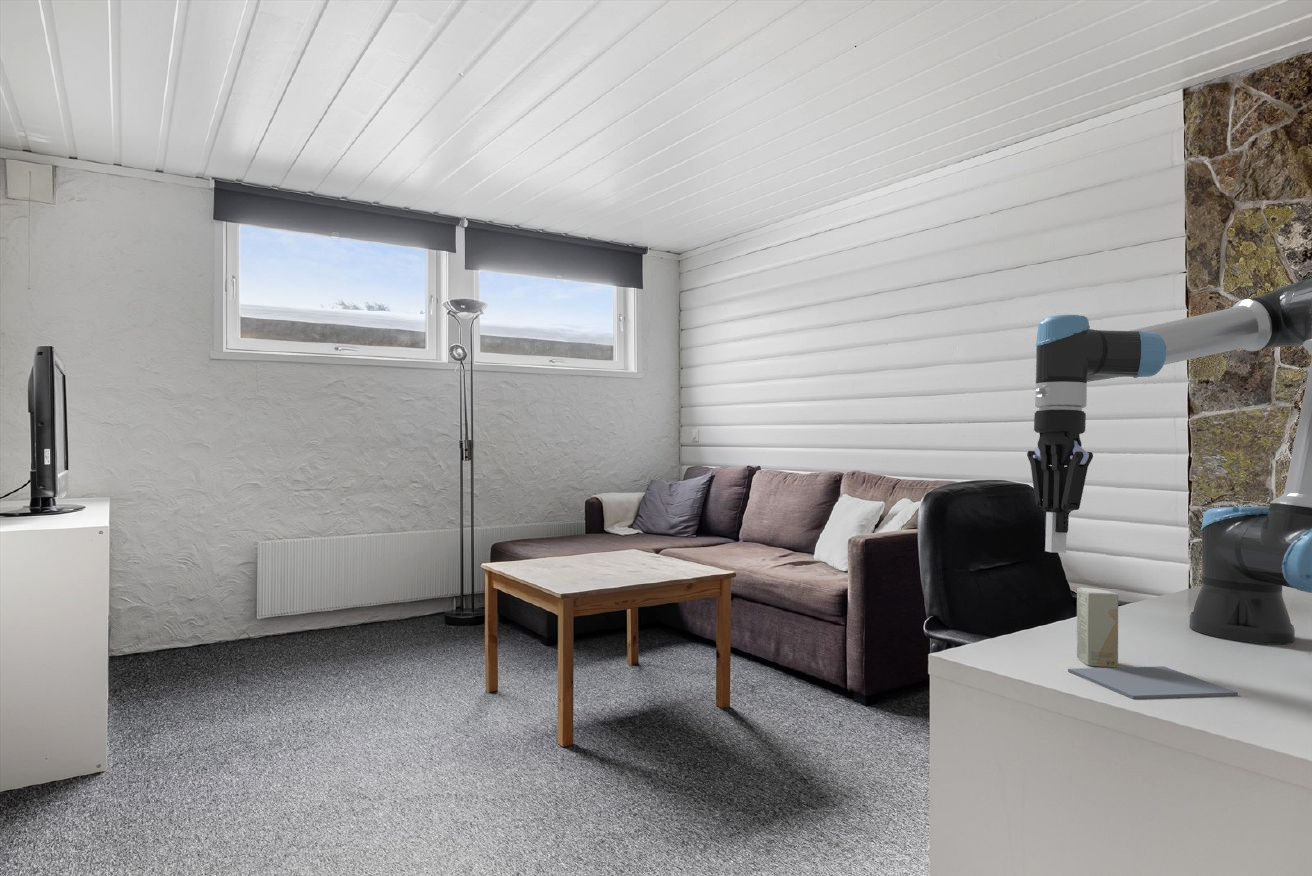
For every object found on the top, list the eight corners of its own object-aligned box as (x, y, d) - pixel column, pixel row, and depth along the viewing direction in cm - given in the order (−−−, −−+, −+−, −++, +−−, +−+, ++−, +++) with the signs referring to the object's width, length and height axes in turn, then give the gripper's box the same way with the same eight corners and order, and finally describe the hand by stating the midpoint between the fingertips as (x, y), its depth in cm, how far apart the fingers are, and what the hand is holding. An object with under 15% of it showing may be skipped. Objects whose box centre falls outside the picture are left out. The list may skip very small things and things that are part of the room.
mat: (1163, 669, 112) (1163, 666, 112) (1238, 695, 101) (1238, 692, 101) (1068, 671, 110) (1068, 668, 110) (1132, 698, 98) (1132, 695, 98)
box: (1118, 668, 112) (1120, 594, 112) (1087, 666, 113) (1088, 592, 113) (1105, 659, 117) (1106, 588, 117) (1075, 657, 118) (1076, 586, 118)
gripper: (1014, 410, 130) (1010, 546, 130) (1067, 406, 118) (1062, 557, 117) (1053, 412, 132) (1049, 546, 131) (1109, 408, 119) (1105, 558, 118)
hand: (1055, 551), depth 124 cm, fingers closed
